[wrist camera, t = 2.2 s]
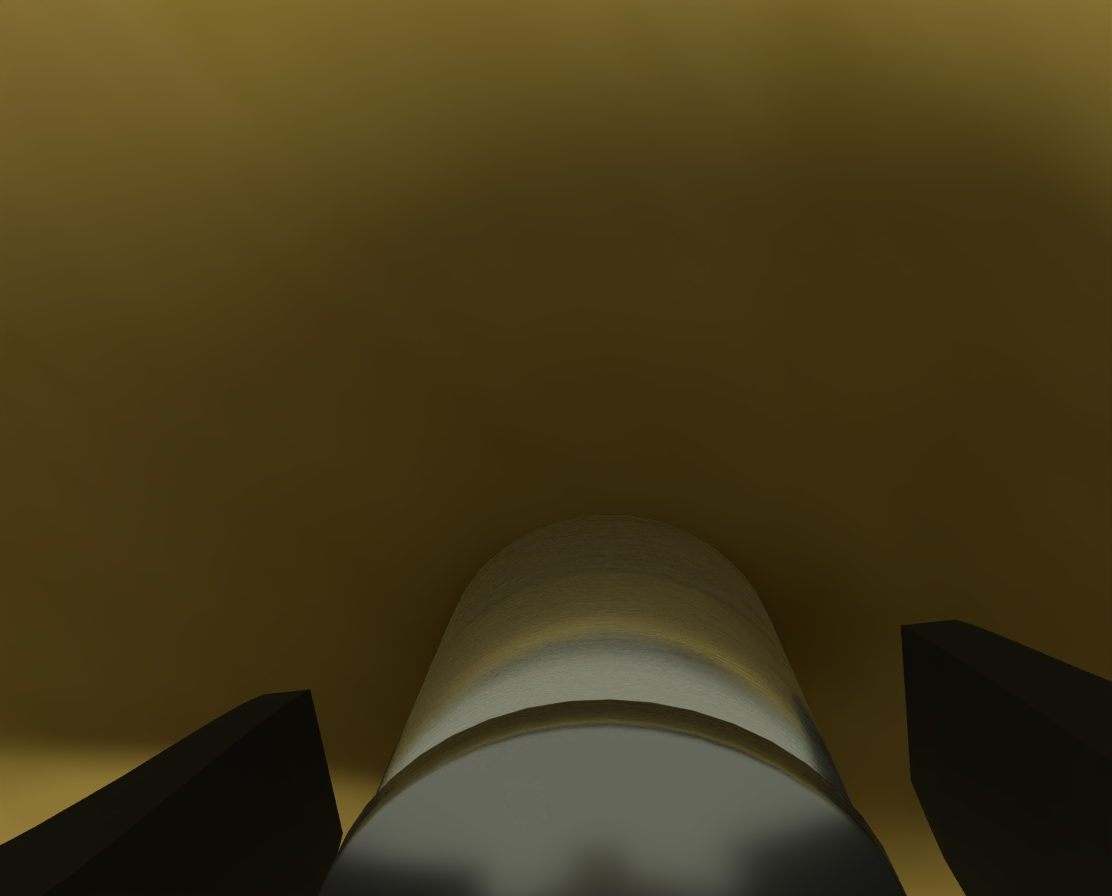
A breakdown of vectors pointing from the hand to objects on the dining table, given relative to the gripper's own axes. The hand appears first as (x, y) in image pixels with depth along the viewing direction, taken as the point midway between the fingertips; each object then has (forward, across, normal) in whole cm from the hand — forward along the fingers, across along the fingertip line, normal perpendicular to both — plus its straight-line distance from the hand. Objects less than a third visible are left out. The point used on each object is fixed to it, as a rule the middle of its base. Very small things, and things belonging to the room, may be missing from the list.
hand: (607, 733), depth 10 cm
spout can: (+2, 0, 0) cm, 2 cm away
